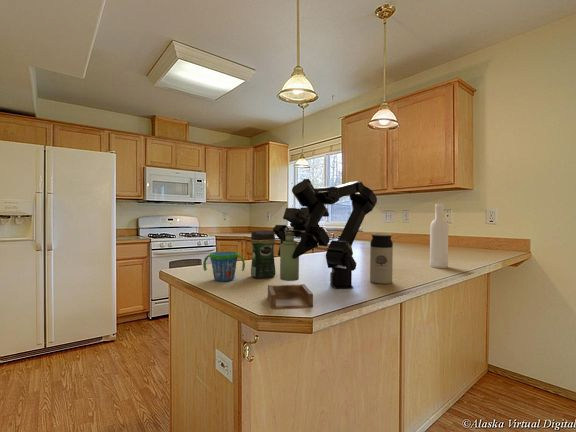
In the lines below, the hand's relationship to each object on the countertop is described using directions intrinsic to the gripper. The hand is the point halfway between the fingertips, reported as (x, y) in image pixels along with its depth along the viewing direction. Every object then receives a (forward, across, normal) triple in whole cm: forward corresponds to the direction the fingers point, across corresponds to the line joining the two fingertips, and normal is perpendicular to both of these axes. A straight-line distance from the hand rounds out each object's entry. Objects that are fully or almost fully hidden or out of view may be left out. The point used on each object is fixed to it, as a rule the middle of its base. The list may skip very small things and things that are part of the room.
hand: (286, 256), depth 89 cm
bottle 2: (-56, +10, +77) cm, 96 cm away
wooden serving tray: (+8, 0, +10) cm, 13 cm away
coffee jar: (-4, -32, +23) cm, 39 cm away
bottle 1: (+4, 0, +6) cm, 7 cm away
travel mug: (-22, +6, +41) cm, 47 cm away
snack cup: (+6, -38, +12) cm, 40 cm away
